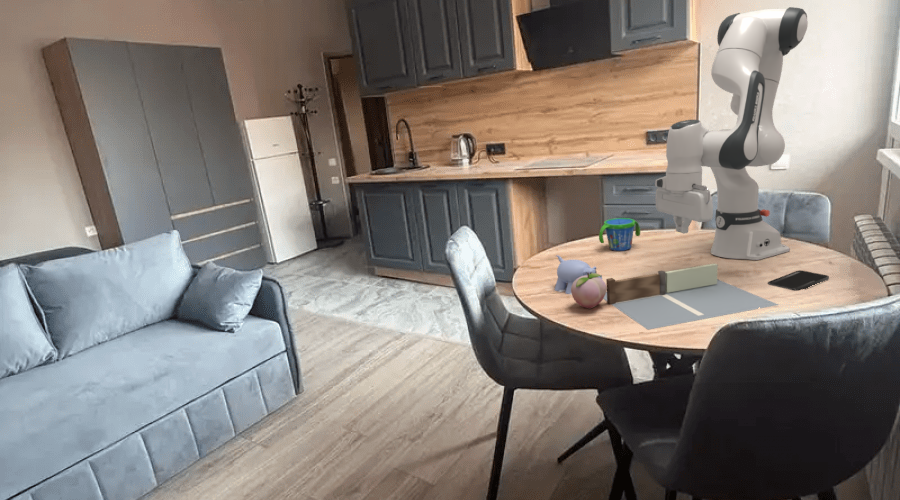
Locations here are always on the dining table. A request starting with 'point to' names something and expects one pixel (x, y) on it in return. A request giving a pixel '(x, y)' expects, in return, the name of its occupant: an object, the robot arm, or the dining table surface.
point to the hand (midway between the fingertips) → (682, 232)
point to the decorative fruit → (588, 290)
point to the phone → (798, 280)
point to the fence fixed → (635, 287)
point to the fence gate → (691, 277)
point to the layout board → (690, 305)
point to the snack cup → (619, 233)
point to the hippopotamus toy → (571, 273)
